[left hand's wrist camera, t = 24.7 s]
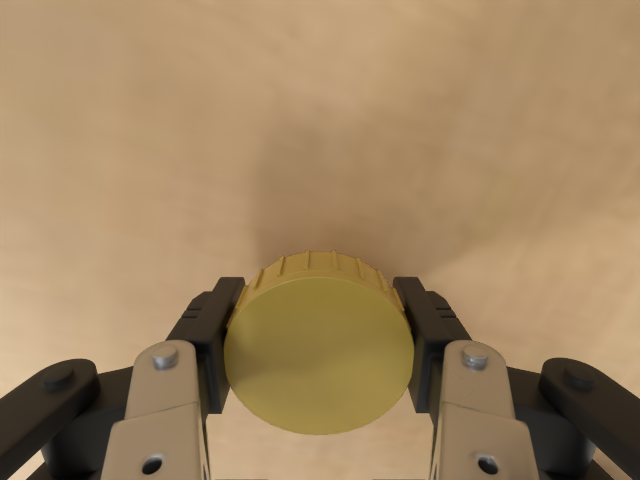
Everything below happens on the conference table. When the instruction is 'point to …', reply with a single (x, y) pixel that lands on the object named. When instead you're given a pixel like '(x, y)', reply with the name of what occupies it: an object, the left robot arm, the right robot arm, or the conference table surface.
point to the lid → (318, 344)
